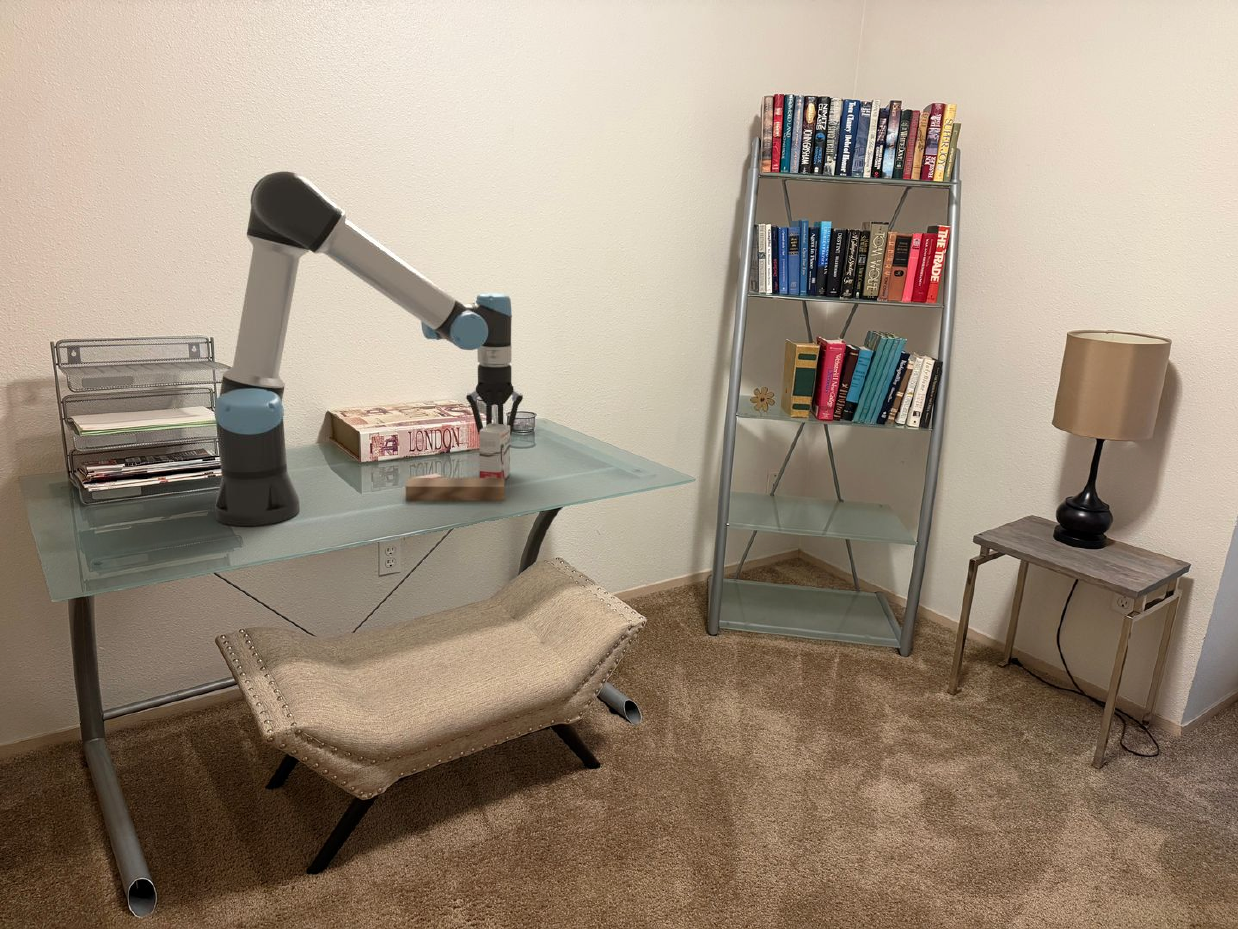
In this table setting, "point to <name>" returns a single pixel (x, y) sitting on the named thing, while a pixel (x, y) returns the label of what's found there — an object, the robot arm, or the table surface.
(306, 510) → the table surface
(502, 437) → the ink box
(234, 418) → the robot arm
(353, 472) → the table surface
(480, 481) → the wooden block
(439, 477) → the eraser
